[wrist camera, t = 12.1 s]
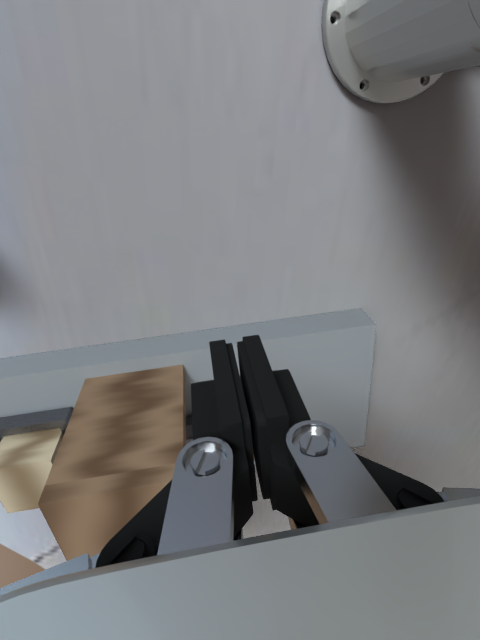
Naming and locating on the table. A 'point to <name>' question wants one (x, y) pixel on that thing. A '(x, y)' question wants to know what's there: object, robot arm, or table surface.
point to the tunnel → (114, 456)
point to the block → (26, 467)
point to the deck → (194, 354)
